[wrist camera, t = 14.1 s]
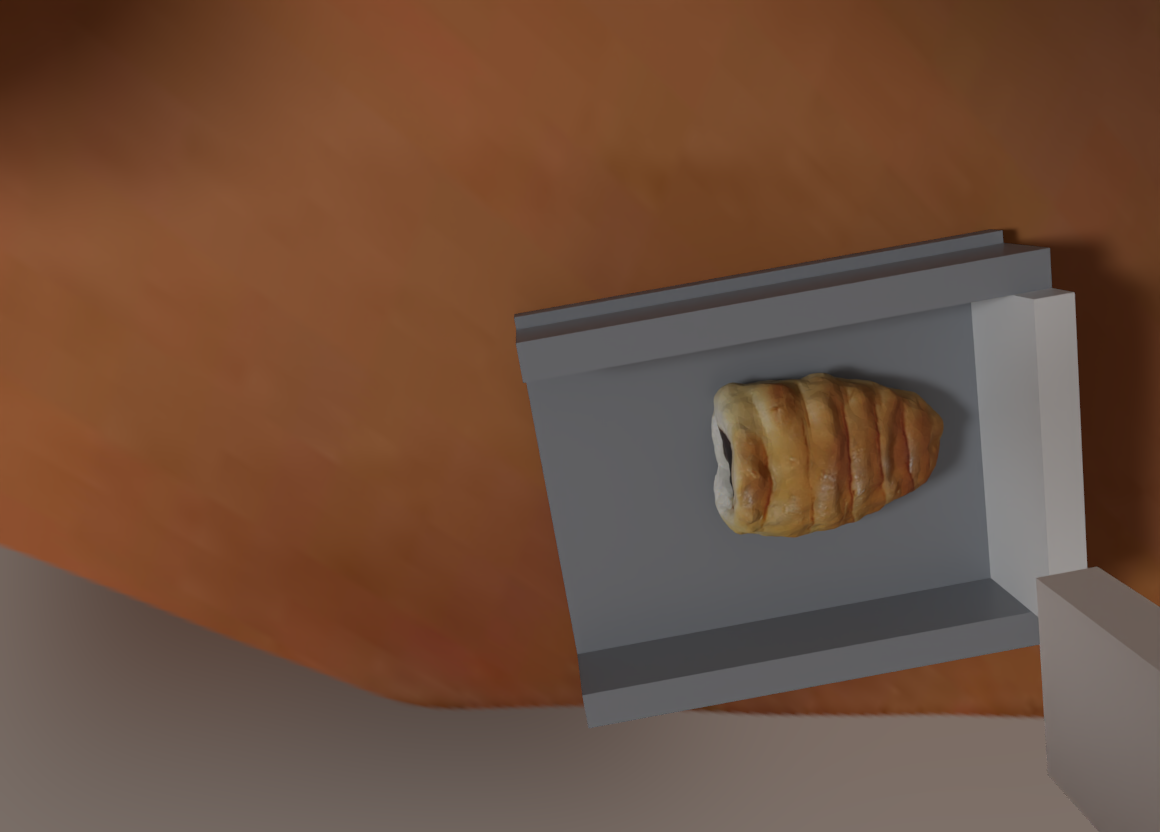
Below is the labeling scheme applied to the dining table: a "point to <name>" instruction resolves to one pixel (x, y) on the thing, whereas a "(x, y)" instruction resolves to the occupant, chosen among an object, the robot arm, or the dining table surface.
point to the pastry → (817, 452)
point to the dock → (823, 558)
